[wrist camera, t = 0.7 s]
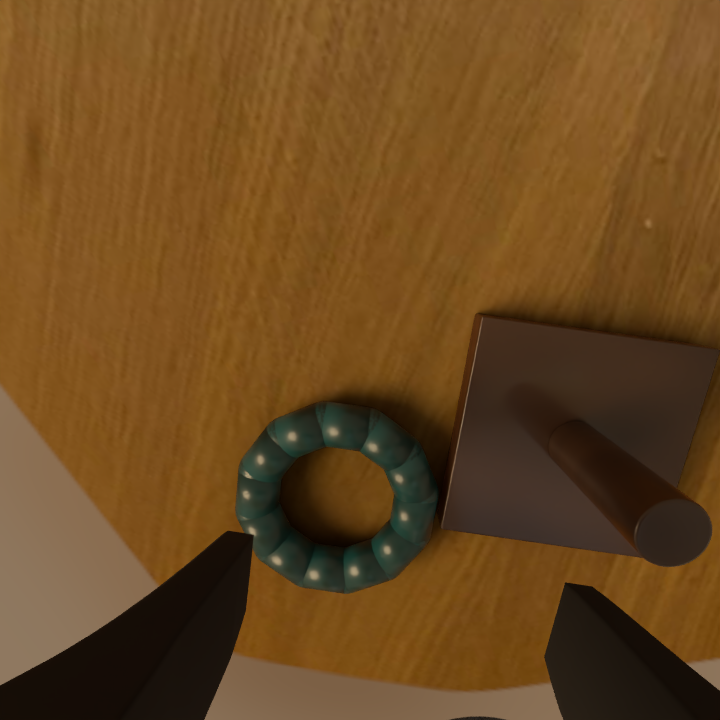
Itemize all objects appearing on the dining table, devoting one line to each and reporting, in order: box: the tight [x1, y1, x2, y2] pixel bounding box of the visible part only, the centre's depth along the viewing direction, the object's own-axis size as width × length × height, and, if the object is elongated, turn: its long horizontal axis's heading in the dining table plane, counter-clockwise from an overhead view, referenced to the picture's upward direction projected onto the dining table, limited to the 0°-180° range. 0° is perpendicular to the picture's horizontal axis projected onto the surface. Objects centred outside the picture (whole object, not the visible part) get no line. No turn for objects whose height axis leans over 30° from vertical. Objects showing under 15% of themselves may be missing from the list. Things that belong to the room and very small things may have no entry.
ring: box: [235, 401, 439, 594], centre depth 18 cm, size 8×8×2 cm
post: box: [437, 314, 720, 567], centre depth 15 cm, size 9×9×7 cm
